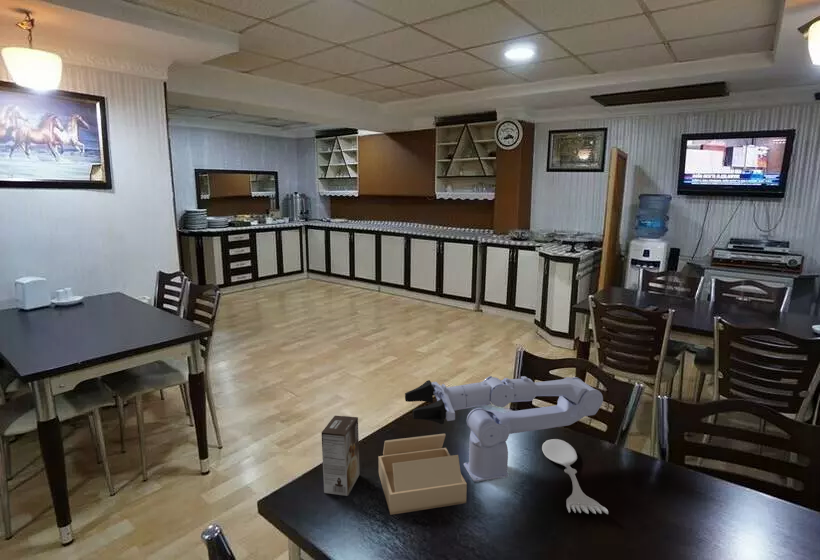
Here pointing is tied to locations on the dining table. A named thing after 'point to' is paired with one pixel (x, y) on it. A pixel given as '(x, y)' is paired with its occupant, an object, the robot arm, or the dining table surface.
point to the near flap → (426, 473)
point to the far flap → (413, 444)
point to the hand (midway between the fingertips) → (409, 405)
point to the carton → (422, 496)
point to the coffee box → (340, 455)
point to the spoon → (567, 456)
